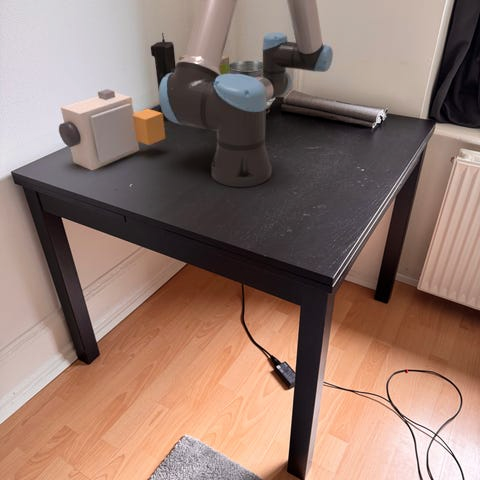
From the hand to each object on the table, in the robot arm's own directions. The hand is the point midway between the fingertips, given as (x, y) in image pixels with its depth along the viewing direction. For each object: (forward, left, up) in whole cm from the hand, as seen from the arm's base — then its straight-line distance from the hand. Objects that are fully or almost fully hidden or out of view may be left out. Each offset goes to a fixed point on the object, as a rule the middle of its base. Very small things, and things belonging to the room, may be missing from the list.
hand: (211, 111), depth 129 cm
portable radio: (+23, -5, -8) cm, 25 cm away
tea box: (+27, -27, -8) cm, 39 cm away
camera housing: (+15, +28, -8) cm, 32 cm away
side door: (+7, +24, -6) cm, 26 cm away
